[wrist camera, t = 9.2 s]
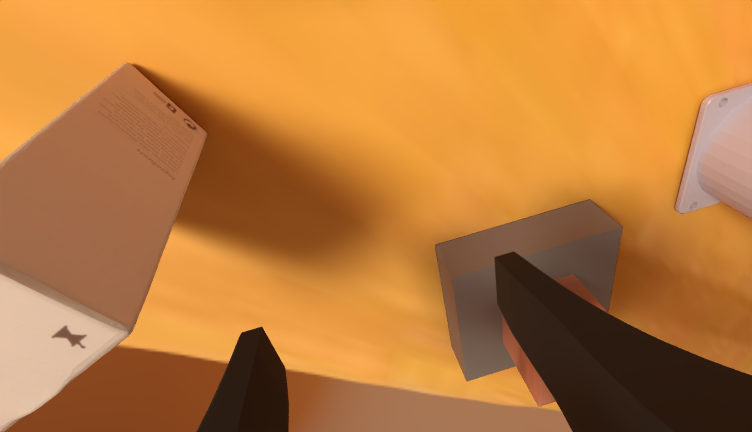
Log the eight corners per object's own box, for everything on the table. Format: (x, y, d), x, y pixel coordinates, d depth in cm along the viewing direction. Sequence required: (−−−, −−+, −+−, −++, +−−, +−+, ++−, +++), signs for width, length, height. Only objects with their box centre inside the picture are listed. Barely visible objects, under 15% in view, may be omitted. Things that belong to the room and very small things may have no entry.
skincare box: (126, 56, 17) (-84, 220, 7) (210, 132, 19) (141, 336, 9) (31, 148, 18) (-263, 399, 8) (121, 210, 20) (-23, 463, 11)
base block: (589, 199, 26) (622, 226, 23) (578, 307, 32) (603, 338, 29) (434, 245, 25) (451, 277, 23) (451, 346, 31) (466, 381, 29)
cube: (573, 273, 25) (625, 332, 21) (568, 323, 27) (613, 383, 24) (501, 295, 25) (540, 358, 21) (503, 343, 27) (538, 406, 23)
